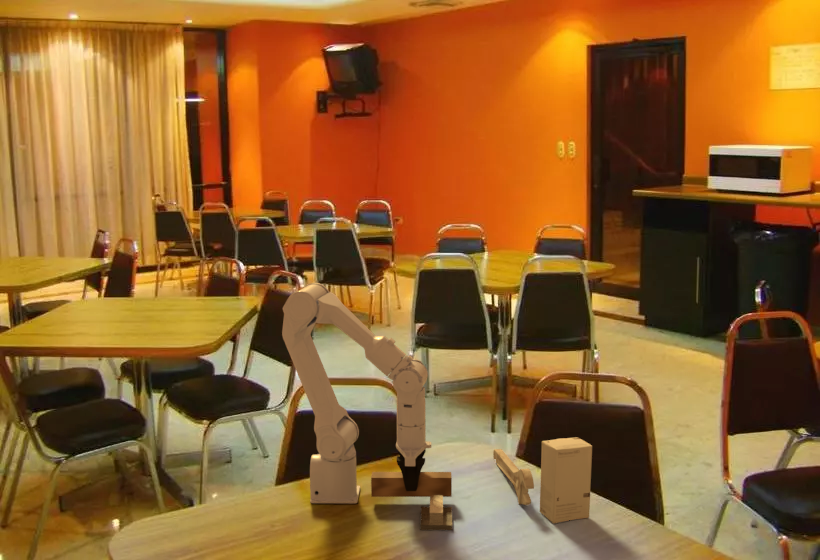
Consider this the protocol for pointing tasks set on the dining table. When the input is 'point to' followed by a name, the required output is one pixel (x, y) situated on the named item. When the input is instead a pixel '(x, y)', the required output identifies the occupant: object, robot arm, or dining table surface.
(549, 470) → the skincare box
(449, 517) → the ridge
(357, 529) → the dining table surface
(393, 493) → the walnut bar
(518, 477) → the wrench
